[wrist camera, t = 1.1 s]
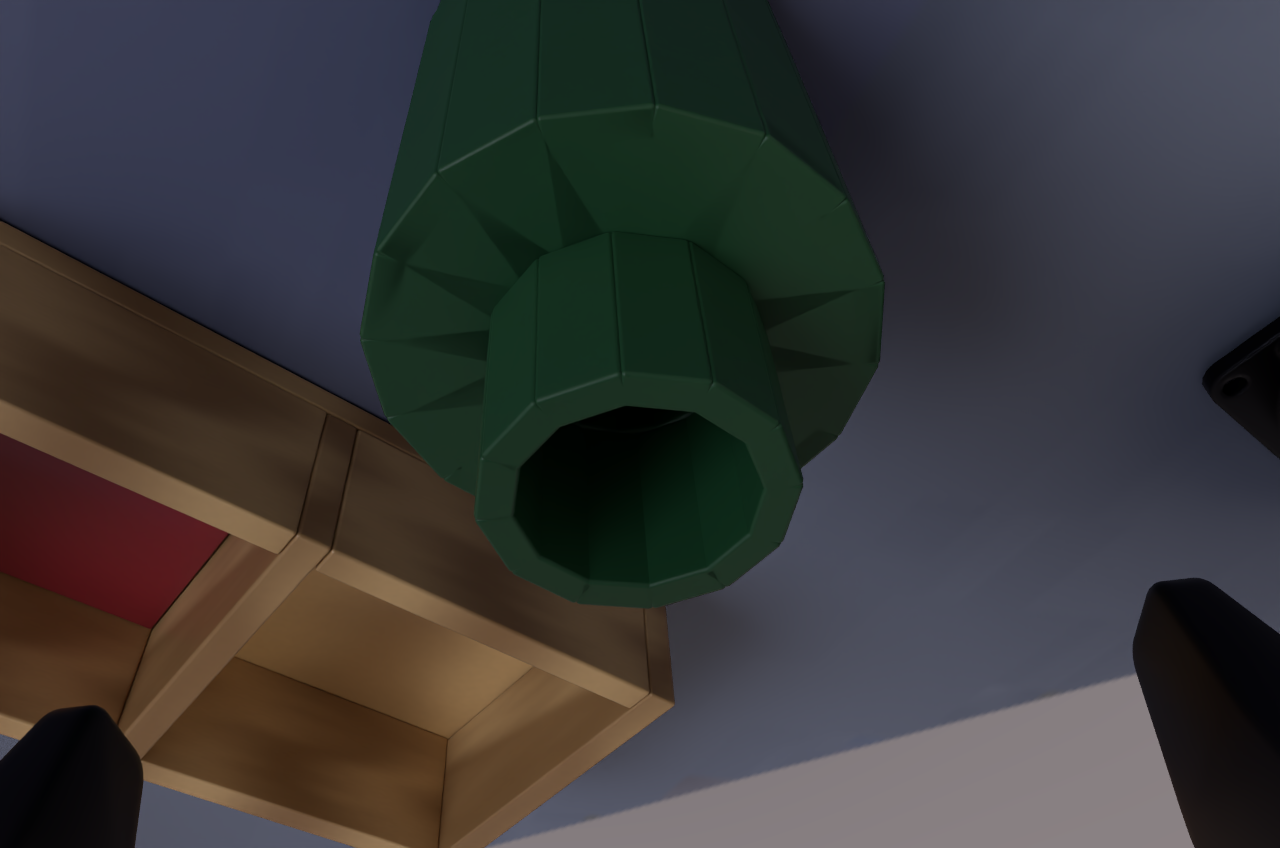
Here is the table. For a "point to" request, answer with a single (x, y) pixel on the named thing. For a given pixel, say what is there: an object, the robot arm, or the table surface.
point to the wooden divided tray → (277, 585)
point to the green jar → (619, 288)
